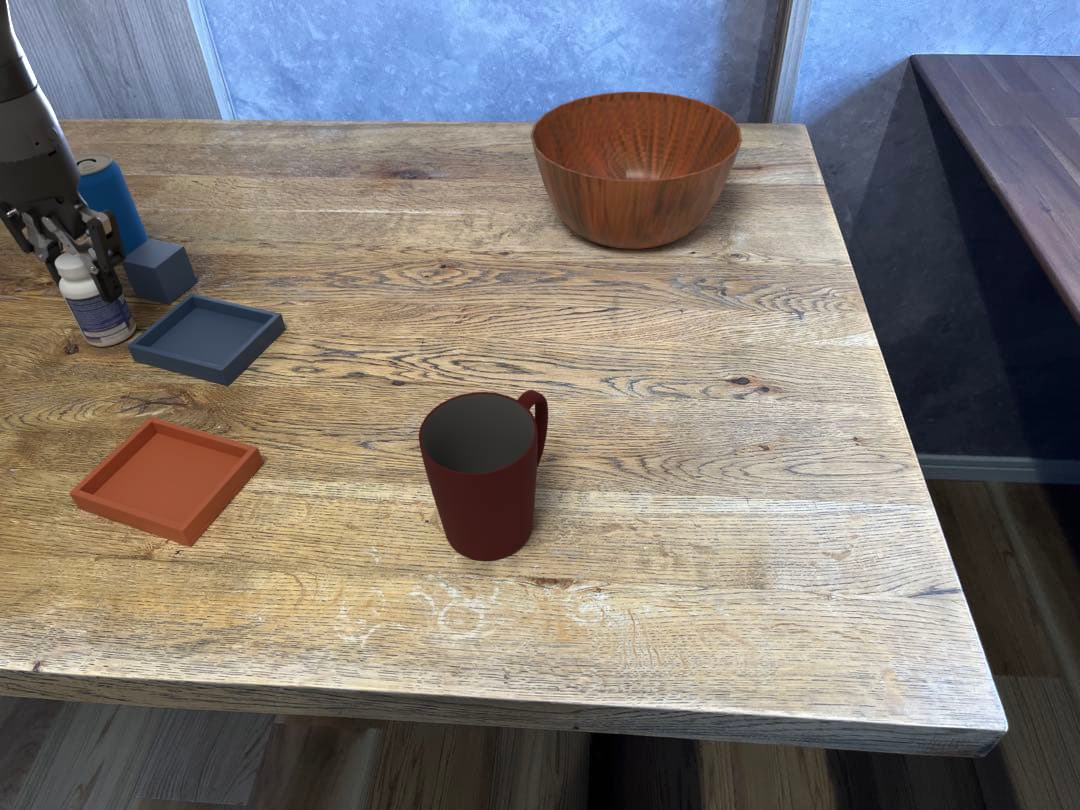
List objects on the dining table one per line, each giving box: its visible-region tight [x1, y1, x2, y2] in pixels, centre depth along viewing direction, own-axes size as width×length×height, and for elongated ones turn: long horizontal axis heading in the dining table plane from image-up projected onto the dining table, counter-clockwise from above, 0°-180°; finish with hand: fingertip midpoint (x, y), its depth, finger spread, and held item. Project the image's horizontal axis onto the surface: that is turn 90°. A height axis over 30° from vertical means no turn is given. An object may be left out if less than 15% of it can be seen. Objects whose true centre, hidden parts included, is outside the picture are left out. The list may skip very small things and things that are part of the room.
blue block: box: [120, 238, 198, 306], centre depth 95 cm, size 5×5×5 cm
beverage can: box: [73, 151, 150, 256], centre depth 99 cm, size 6×6×12 cm
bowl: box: [530, 91, 743, 250], centre depth 101 cm, size 25×25×11 cm
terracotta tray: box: [68, 416, 264, 548], centre depth 72 cm, size 12×10×2 cm
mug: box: [418, 389, 549, 561], centre depth 66 cm, size 12×9×11 cm
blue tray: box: [126, 292, 287, 387], centre depth 87 cm, size 12×10×2 cm
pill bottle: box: [55, 248, 137, 348], centre depth 87 cm, size 5×5×10 cm
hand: (92, 292), depth 87 cm, fingers closed on pill bottle, 5 cm apart
